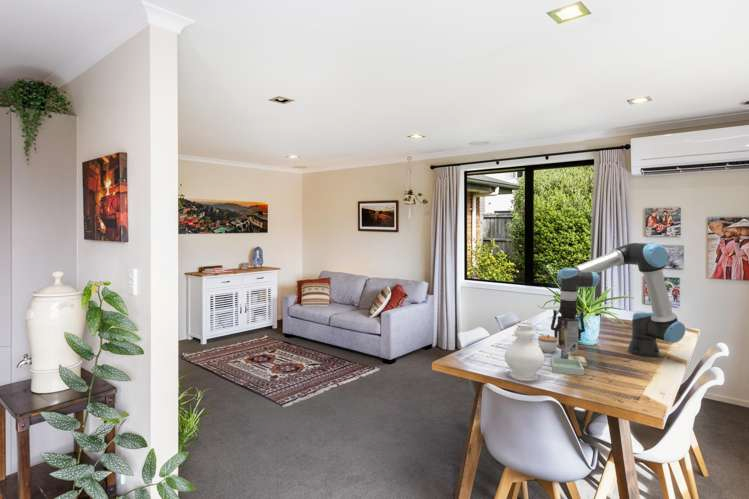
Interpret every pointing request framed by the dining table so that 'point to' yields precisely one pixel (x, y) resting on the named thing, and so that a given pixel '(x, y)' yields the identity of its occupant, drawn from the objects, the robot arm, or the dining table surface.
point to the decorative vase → (524, 354)
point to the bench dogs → (564, 355)
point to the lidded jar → (547, 343)
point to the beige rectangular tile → (582, 360)
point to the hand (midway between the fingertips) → (567, 344)
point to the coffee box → (568, 335)
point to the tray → (567, 366)
